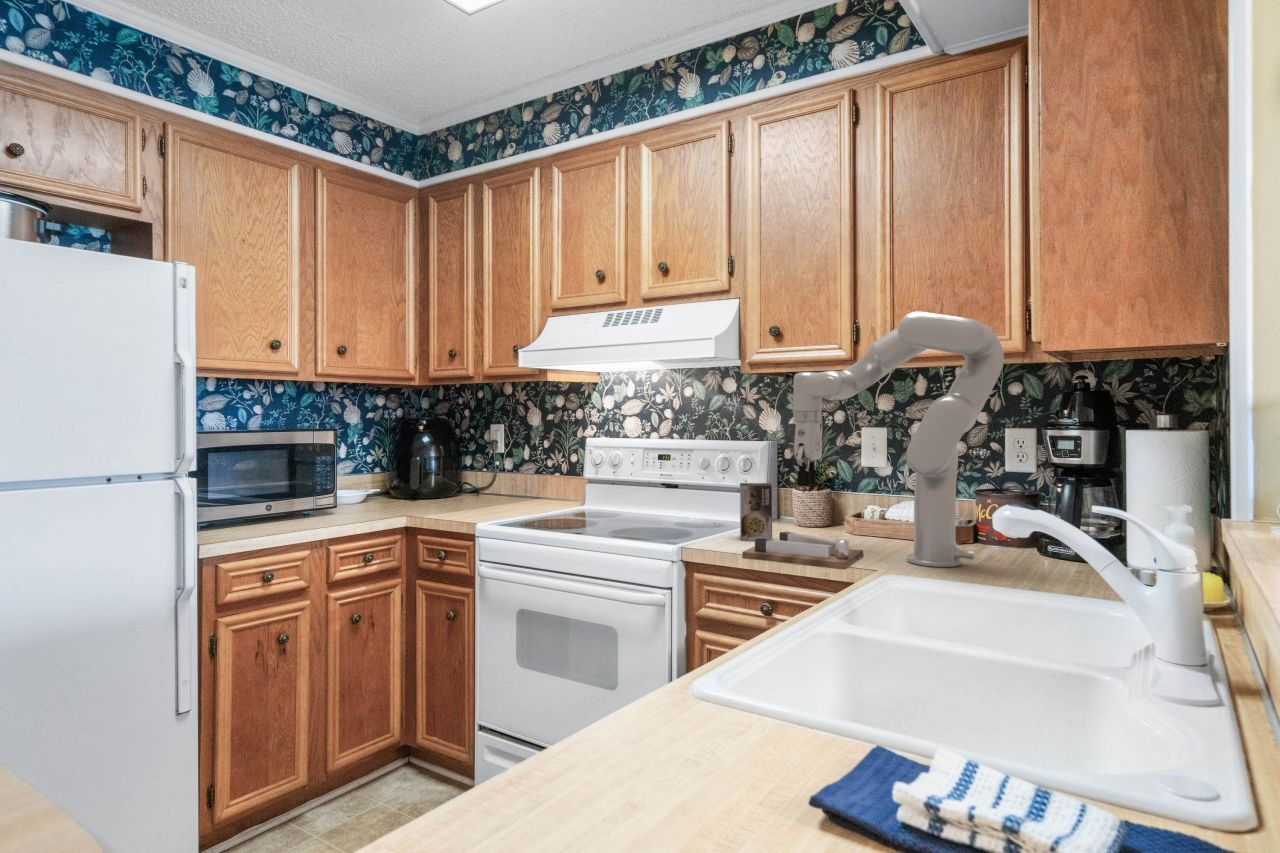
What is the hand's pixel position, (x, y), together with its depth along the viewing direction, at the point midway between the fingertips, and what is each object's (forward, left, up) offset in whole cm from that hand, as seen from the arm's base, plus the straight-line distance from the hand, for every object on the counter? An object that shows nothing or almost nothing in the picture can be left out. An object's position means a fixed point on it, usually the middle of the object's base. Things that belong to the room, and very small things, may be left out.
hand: (806, 484), depth 203 cm
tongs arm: (-4, +9, -16) cm, 19 cm away
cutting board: (-3, +12, -17) cm, 21 cm away
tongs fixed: (-4, +17, -16) cm, 23 cm away
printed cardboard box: (+17, -6, -18) cm, 25 cm away
